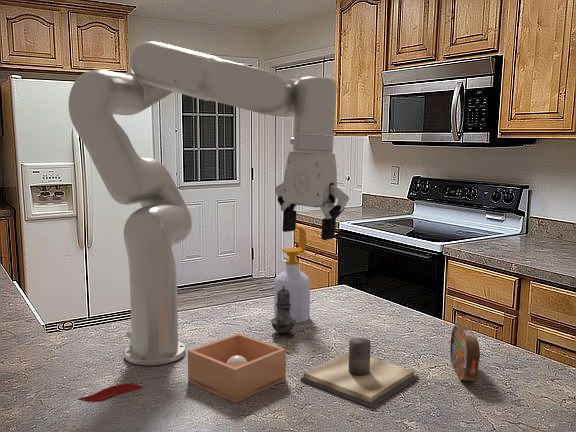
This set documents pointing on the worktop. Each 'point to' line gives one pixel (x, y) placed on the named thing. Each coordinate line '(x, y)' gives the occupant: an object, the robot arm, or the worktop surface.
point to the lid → (359, 373)
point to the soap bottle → (295, 283)
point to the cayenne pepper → (111, 392)
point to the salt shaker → (283, 317)
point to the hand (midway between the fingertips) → (307, 235)
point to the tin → (464, 353)
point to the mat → (361, 399)
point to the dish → (236, 366)
